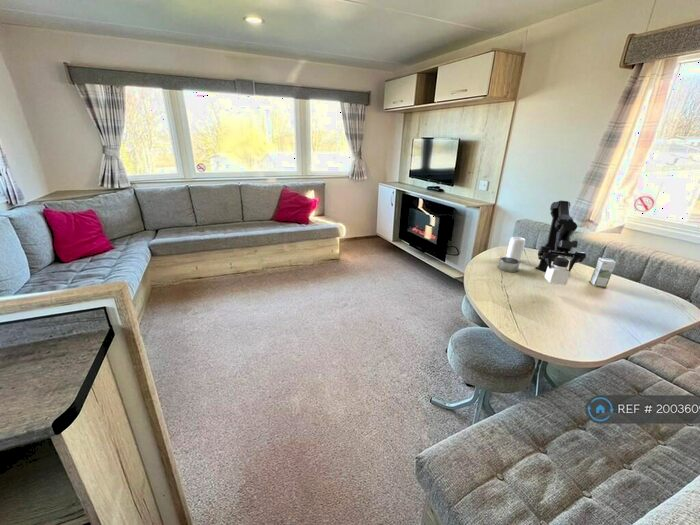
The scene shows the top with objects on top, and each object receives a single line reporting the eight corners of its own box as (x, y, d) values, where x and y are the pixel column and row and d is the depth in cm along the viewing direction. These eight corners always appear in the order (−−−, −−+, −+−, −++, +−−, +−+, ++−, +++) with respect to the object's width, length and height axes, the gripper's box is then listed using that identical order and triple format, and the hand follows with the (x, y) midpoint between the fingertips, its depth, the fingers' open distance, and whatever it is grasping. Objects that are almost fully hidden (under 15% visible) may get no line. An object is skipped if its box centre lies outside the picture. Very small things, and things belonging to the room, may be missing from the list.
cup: (502, 257, 199) (508, 236, 194) (515, 257, 200) (520, 236, 195) (510, 262, 191) (516, 240, 186) (523, 262, 192) (529, 240, 187)
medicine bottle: (565, 285, 147) (573, 262, 143) (549, 283, 149) (557, 260, 144) (559, 278, 154) (567, 256, 149) (544, 277, 155) (551, 254, 150)
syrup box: (602, 283, 167) (611, 258, 162) (606, 287, 162) (616, 262, 157) (589, 281, 169) (598, 256, 164) (593, 285, 164) (603, 260, 158)
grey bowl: (504, 263, 188) (506, 255, 186) (521, 269, 181) (523, 261, 179) (494, 267, 183) (496, 258, 181) (511, 273, 175) (513, 264, 173)
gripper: (545, 230, 149) (541, 259, 144) (592, 236, 142) (589, 266, 137) (539, 241, 159) (535, 268, 154) (582, 247, 152) (580, 276, 147)
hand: (559, 269), depth 147 cm, fingers closed on medicine bottle, 8 cm apart
